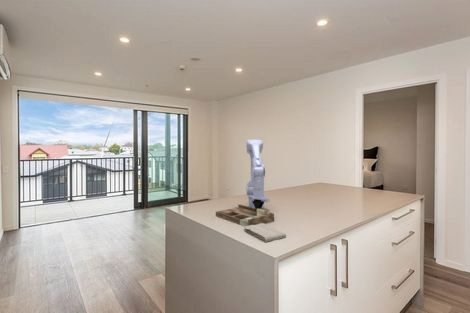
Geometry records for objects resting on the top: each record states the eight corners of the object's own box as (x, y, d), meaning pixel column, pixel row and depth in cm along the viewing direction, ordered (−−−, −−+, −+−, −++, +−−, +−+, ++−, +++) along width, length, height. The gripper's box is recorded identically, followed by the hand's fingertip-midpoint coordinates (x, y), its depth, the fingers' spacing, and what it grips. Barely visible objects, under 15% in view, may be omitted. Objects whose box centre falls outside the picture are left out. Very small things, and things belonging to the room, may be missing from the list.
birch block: (263, 214, 134) (263, 207, 134) (270, 216, 130) (270, 209, 130) (256, 216, 131) (256, 208, 131) (263, 218, 127) (263, 210, 127)
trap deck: (239, 210, 153) (239, 204, 152) (274, 221, 131) (274, 213, 131) (215, 216, 141) (215, 209, 141) (249, 228, 120) (249, 219, 119)
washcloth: (262, 227, 122) (262, 221, 122) (287, 238, 107) (287, 231, 107) (241, 231, 116) (241, 225, 116) (265, 244, 101) (265, 236, 101)
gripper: (243, 187, 136) (243, 212, 137) (263, 191, 125) (263, 217, 126) (253, 186, 141) (253, 210, 141) (272, 189, 130) (272, 215, 130)
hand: (258, 213), depth 134 cm, fingers closed
